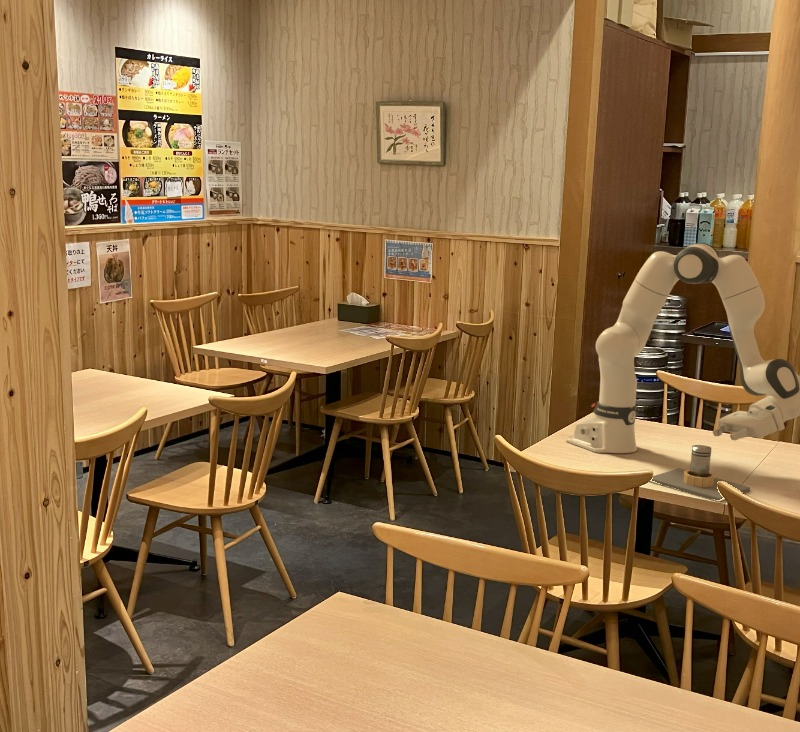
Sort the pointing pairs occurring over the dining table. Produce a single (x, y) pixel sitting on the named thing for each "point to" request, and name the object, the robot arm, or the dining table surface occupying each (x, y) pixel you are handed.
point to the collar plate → (694, 483)
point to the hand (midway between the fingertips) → (723, 436)
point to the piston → (700, 461)
